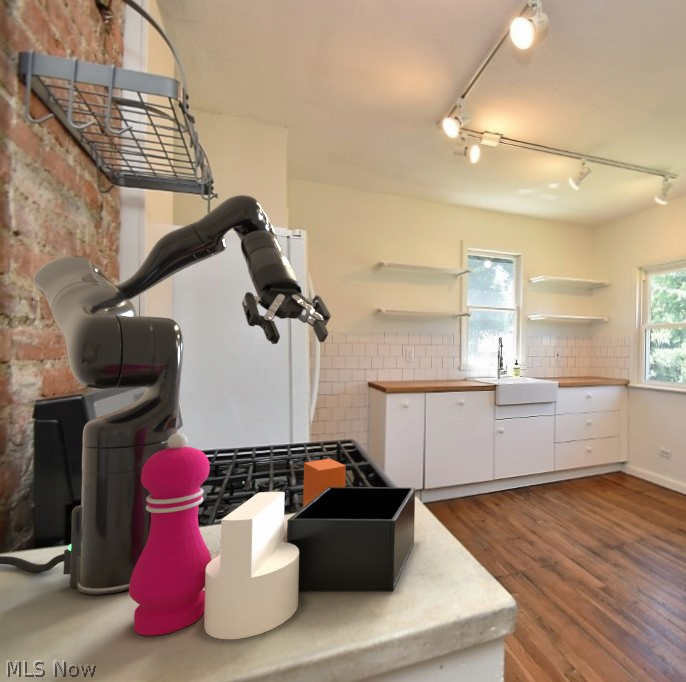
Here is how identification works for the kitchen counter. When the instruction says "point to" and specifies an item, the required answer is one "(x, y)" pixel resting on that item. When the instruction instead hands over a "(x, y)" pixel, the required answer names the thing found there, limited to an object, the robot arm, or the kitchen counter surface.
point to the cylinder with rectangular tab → (252, 571)
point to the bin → (353, 538)
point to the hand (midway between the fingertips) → (300, 340)
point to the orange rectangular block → (322, 477)
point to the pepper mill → (172, 542)
